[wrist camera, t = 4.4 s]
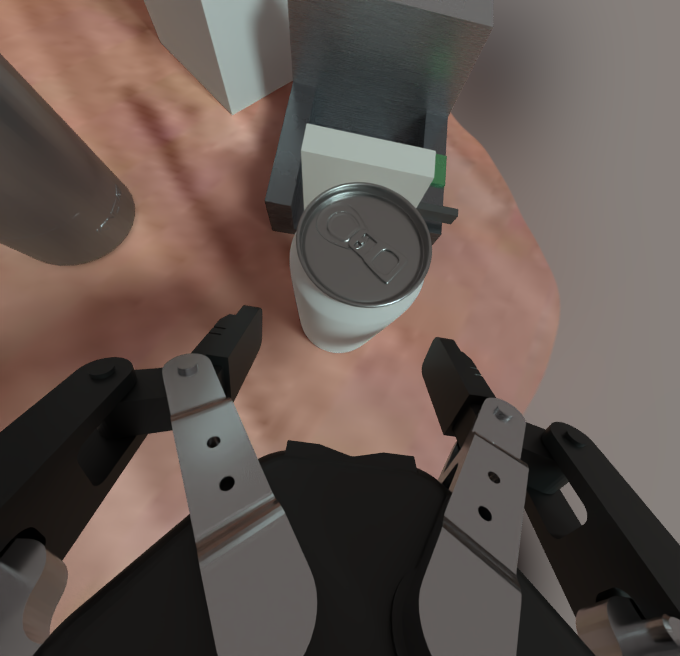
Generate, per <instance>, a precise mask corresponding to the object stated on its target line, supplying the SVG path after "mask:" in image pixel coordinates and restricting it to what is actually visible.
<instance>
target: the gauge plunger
mask: <svg viewBox="0 0 680 656" xmlns="http://www.w3.org/2000/svg"><path fill="white" fill-rule="evenodd" d="M435 156H436V151H434V150H429V149H425V148H420V147H415V146H411V145H406V144H401V143H396V142H392V141H387V140H382V139H378V138H373V137H368V136H364V135H359V134H354V133H350V132H345V131H340V130H336V129H331V128H326V127H322V126H317V125H312V124H308V123H307V124H306V129H305V134H304V139H303V143H302V148H301V161H302V180H303V199H304V210H305V209H306V207H307V206H308V205H309V203H310V202H311V201H312V200H313V199H314V198H315V197H317V196H318V195H319V194H321V193H322V192H324V191H325V190H327V189H329V188H332V187H334V186H337V185H340V184H345V183H351V182H366V183H373V184H377V185H381V186H384V187H386V188H389V189H391V190H393V191H395V192H397V193H398V194H400V195H402V196H403V197H404V198H406V199H407V200H408V201H409V202H410V203H411V204H412V205H413V206H414V207H415V208H416V209H417V210H418V212H419V213H420V214H421V216H422V217H423V219H426V220H431V221H437V222H442V223H447V224H452V222H453V221H454V220H455V219H456V218H457V217H458V209H454V208H449V207H444V206H439V205H434V204H429V203H424V202H420V201H421V199H422V198H423V196H424V194H425V193H426V191H427V189H428V187H429V186H430V184H431V182H432V181H433V179H434V172H435Z"/></svg>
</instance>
